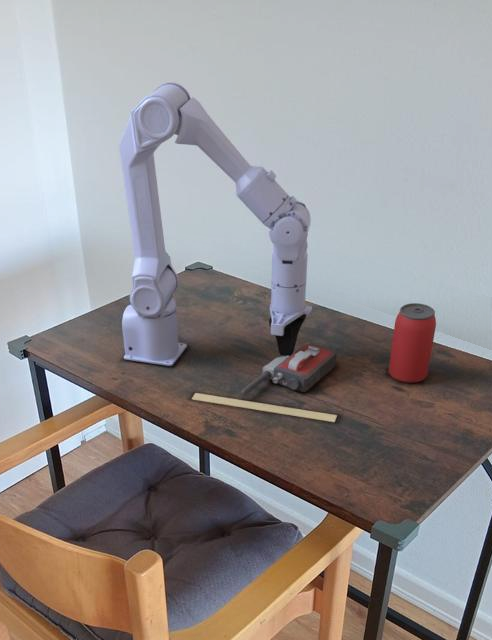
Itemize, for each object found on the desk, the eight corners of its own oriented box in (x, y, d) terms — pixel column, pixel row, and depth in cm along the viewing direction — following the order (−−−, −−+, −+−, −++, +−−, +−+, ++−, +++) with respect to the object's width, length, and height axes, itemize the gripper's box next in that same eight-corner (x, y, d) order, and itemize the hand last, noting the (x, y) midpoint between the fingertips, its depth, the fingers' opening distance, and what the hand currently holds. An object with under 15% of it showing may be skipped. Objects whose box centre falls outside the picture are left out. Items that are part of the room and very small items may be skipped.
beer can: (430, 369, 130) (442, 305, 123) (422, 388, 126) (433, 322, 118) (393, 362, 133) (402, 299, 125) (383, 380, 128) (392, 315, 121)
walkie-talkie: (298, 350, 137) (236, 398, 124) (299, 328, 134) (236, 375, 122) (341, 363, 133) (281, 414, 120) (343, 340, 130) (282, 391, 117)
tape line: (191, 399, 125) (191, 398, 125) (195, 393, 126) (195, 392, 126) (334, 422, 118) (334, 421, 118) (337, 415, 120) (337, 415, 120)
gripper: (302, 301, 117) (298, 377, 125) (322, 266, 128) (317, 338, 136) (258, 296, 119) (258, 372, 127) (281, 262, 130) (279, 333, 138)
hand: (286, 354), depth 132 cm, fingers closed, pressing on walkie-talkie
